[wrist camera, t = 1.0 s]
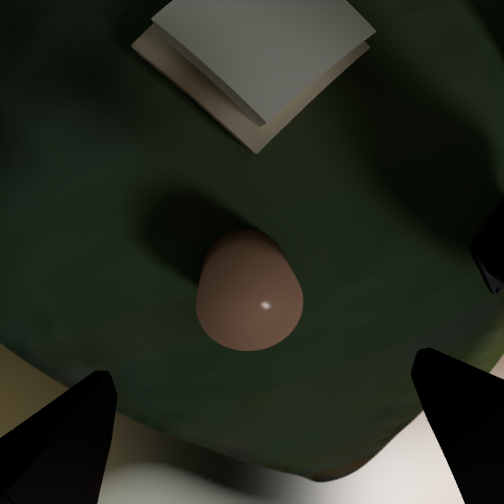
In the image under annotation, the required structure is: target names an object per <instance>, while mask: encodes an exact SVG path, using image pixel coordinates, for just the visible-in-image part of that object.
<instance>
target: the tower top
mask: <svg viewBox="0 0 504 504" xmlns="http://www.w3.org/2000/svg"><path fill="white" fill-rule="evenodd" d="M151 20H152V21H153V23H154V24H155V26H156V28H157V29H158V31H159V32H160V34H161V36H162V37H163V39H164V40H166V41H167V42H168V43H169V44H170V45H172V46H173V47H174V48H175V49H176V50H177V51H179V52H180V53H181V54H182V55H183V56H184V57H185V58H187V59H188V60H189V61H190V62H191V63H192V64H193V65H195V66H196V67H197V68H198V69H199V70H200V71H201V72H202V73H204V74H205V75H206V76H207V77H208V78H209V79H210V80H211V81H212V82H213V83H214V84H216V85H217V86H218V87H219V88H220V89H221V90H222V91H223V92H224V93H225V94H226V95H227V96H228V97H229V98H230V99H232V100H233V101H234V102H235V103H236V104H237V105H238V106H239V107H240V108H241V109H242V110H243V111H244V112H245V113H246V114H247V115H248V116H249V117H250V118H251V119H252V120H253V121H254V122H255V123H256V124H257V125H258V126H259V127H261V126H262V125H264V124H266V123H267V122H268V121H270V120H271V119H272V118H273V117H274V116H275V115H276V114H277V113H278V112H279V111H281V110H282V109H283V108H284V107H285V106H286V105H287V104H288V103H290V102H291V101H292V100H293V99H294V98H295V97H296V96H298V95H299V94H300V93H301V92H302V91H303V90H304V89H306V88H307V87H308V86H309V85H310V84H311V83H313V82H314V81H315V80H316V79H317V78H319V77H320V76H321V75H322V74H323V73H324V72H326V71H327V70H328V69H329V68H331V67H332V66H333V65H334V64H335V63H337V62H338V61H339V60H340V59H342V58H343V57H344V56H345V55H347V54H348V53H349V52H350V51H352V50H353V49H354V48H355V47H357V46H358V45H359V44H360V43H362V42H363V41H364V40H366V39H367V38H368V37H370V36H371V35H372V34H373V33H375V32H376V31H375V29H374V28H373V27H372V26H371V25H370V24H369V23H368V22H367V21H366V20H365V19H364V18H363V17H362V16H361V15H360V14H359V13H358V12H357V11H356V10H355V9H354V8H353V7H352V6H351V5H350V4H349V3H348V2H347V1H346V0H172V1H171V2H170V3H169V4H168V5H166V6H165V7H164V8H163V9H162V10H160V11H159V12H158V13H157V14H156V15H155V16H154V17H152V18H151Z"/></svg>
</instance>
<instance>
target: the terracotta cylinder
mask: <svg viewBox="0 0 504 504" xmlns="http://www.w3.org/2000/svg"><path fill="white" fill-rule="evenodd" d="M302 309H303V295H302V290H301V287H300V285H299V283H298V281H297V279H296V277H295V275H294V273H293V271H292V269H291V267H290V265H289V263H288V261H287V259H286V257H285V255H284V254H283V252H282V250H281V248H280V246H279V245H278V244H277V243H276V242H275V241H274V240H273V239H272V238H271V237H270V236H268V235H266V234H265V233H262V232H260V231H257V230H252V229H238V230H234V231H230V232H228V233H226V234H224V235H222V236H220V237H219V238H218V239H216V240H215V241H214V242H213V243H212V245H211V246H210V247H209V249H208V250H207V252H206V255H205V257H204V261H203V266H202V271H201V276H200V282H199V287H198V293H197V299H196V311H197V316H198V319H199V322H200V324H201V326H202V327H203V329H204V330H205V332H206V333H207V334H208V335H209V336H210V337H211V338H212V339H213V340H215V341H216V342H218V343H219V344H221V345H223V346H225V347H228V348H231V349H235V350H241V351H254V350H260V349H265V348H268V347H270V346H273V345H275V344H277V343H278V342H280V341H282V340H283V339H284V338H285V337H287V336H288V335H289V334H290V333H291V332H292V330H293V329H294V328H295V326H296V325H297V323H298V321H299V319H300V317H301V313H302Z"/></svg>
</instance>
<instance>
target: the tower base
mask: <svg viewBox="0 0 504 504" xmlns="http://www.w3.org/2000/svg"><path fill="white" fill-rule="evenodd" d="M131 46H132V48H133V49H134V50H135V51H136V52H137V53H138V54H139V55H140V56H141V57H142V58H144V59H145V60H146V61H147V62H148V63H150V64H151V65H152V66H153V67H155V68H156V69H157V70H158V71H160V72H161V73H162V74H163V75H164V76H166V77H167V78H168V79H169V80H170V81H172V82H173V83H174V84H175V85H176V86H177V87H179V88H180V89H181V90H182V91H183V92H184V93H186V94H187V95H188V96H189V97H190V98H191V99H193V100H194V101H195V102H196V103H197V104H198V105H199V106H201V107H202V108H203V109H204V110H205V111H206V112H207V113H209V114H210V115H211V116H212V117H213V118H214V119H215V120H216V121H218V122H219V123H220V124H221V125H222V126H223V127H224V128H225V129H226V130H227V131H229V132H230V133H231V134H232V135H233V136H234V137H235V138H236V139H237V140H238V141H239V142H240V143H242V144H243V145H244V146H245V147H246V148H247V149H248V150H249V151H250V152H251V153H252V154H257V153H258V152H259V151H260V150H261V149H262V148H263V147H264V146H265V145H266V144H267V143H268V142H269V141H270V140H271V139H272V138H273V137H274V136H275V135H276V134H277V133H278V132H279V131H280V130H281V129H282V128H284V127H285V126H286V125H287V124H288V123H289V122H290V121H291V120H292V119H293V118H294V117H295V116H296V115H297V114H298V113H299V112H300V111H301V110H302V109H303V108H304V107H305V106H306V105H307V104H308V103H310V102H311V101H312V100H313V99H314V98H315V97H316V96H317V95H318V94H319V93H320V92H321V91H322V90H323V89H325V88H326V87H327V86H328V85H329V84H330V83H331V82H332V81H333V80H334V79H335V78H337V77H338V76H339V75H340V74H341V73H342V72H343V71H344V70H345V69H347V68H348V67H349V66H350V65H351V64H352V63H353V62H354V61H356V60H357V59H358V58H359V57H360V56H361V55H362V54H363V53H365V52H366V51H367V50H368V49H369V48H370V46H369V45H368V44H367V43H366V42H365V41H363V42H362V43H360V44H359V45H358V46H357V47H355V48H354V49H353V50H352V51H350V52H349V53H348V54H347V55H345V56H344V57H343V58H342V59H340V60H339V61H338V62H337V63H335V64H334V65H333V66H332V67H331V68H329V69H328V70H327V71H326V72H324V73H323V74H322V75H321V76H320V77H319V78H317V79H316V80H315V81H314V82H313V83H311V84H310V85H309V86H308V87H307V88H306V89H304V90H303V91H302V92H301V93H300V94H299V95H298V96H296V97H295V98H294V99H293V100H292V101H291V102H290V103H288V104H287V105H286V106H285V107H284V108H283V109H282V110H281V111H279V112H278V113H277V114H276V115H275V116H274V117H273V118H272V119H271V120H270V121H268V122H267V123H266V124H264V125H262V126H261V127H259V126H258V125H257V124H256V123H255V122H254V121H253V120H252V119H251V118H250V117H249V116H248V115H247V114H246V113H245V112H244V111H243V110H242V109H241V108H240V107H239V106H238V105H237V104H236V103H235V102H234V101H233V100H232V99H230V98H229V97H228V96H227V95H226V94H225V93H224V92H223V91H222V90H221V89H220V88H219V87H218V86H217V85H216V84H214V83H213V82H212V81H211V80H210V79H209V78H208V77H207V76H206V75H205V74H204V73H202V72H201V71H200V70H199V69H198V68H197V67H196V66H195V65H193V64H192V63H191V62H190V61H189V60H188V59H187V58H185V57H184V56H183V55H182V54H181V53H180V52H179V51H177V50H176V49H175V48H174V47H173V46H172V45H170V44H169V43H168V42H167V41H166V40H164V39H163V37H162V36H161V34H160V32H159V31H158V29H157V28H156V26H155V24H154V23H153V24H152V25H151V26H150V27H149V28H148V29H147V30H146V31H145V32H144V33H143V34H142V35H141V36H140V37H139V38H138V39H137V40H136V41H135V42H134V43H133V44H132V45H131Z"/></svg>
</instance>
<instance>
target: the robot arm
mask: <svg viewBox="0 0 504 504" xmlns="http://www.w3.org/2000/svg"><path fill="white" fill-rule="evenodd" d="M476 249H477V250H476ZM471 252H472V254H473V256H474V258H475V260H476V262H477V264H478V266H479V268H480V270H481V272H482V274H483V276H484V278H485V280H486V282H487V284H488V286H489V288H490V290H491V292H492V294H494V295H498V294H499V293H500V291H501V290H502V289H503V288H504V204H503V205H502V207H501V208H500V209H499V211H498V212H497V214H496V215H495V216H494V218H493V219H492V220H491V222H490V223H489V224H488V226H487V227H486V228H485V230H484V231H483V232H482V233H481V235H480V236H479V237H478V239H477V240H476V241H475V242H474V244H473V245H472V247H471ZM411 377H412V380H413V383H414V385H415V388H416V391H417V393H418V396H419V399H420V402H421V404H422V407H423V410H424V412H425V415H426V417H427V420H428V422H429V424H430V426H431V428H432V430H433V432H434V434H435V436H436V439H437V441H438V443H439V445H440V447H441V449H442V451H443V454H444V456H445V458H446V460H447V462H448V465H449V467H450V469H451V472H452V474H453V476H454V478H455V481H456V483H457V485H458V488H459V490H460V493H461V495H462V498H463V500H464V502H465V504H504V379H501V378H499V377H496V376H494V375H492V374H490V373H487V372H485V371H483V370H480V369H478V368H476V367H473V366H471V365H469V364H467V363H464V362H462V361H460V360H457V359H455V358H453V357H450V356H448V355H446V354H444V353H441V352H439V351H437V350H434V349H432V348H425V349H420V350H419V351H418V352H417V354H416V357H415V360H414V364H413V367H412V371H411ZM116 405H117V392H116V389H115V386H114V383H113V380H112V377H111V374H110V373H109V372H108V371H99V370H97V371H94V372H93V373H91V374H90V375H88V376H87V377H86V378H84V379H83V380H81V381H80V382H79V383H77V384H76V385H74V386H73V387H72V388H70V389H69V390H67V391H66V392H65V393H63V394H62V395H60V396H59V397H58V398H56V399H55V400H53V401H52V402H51V403H49V404H48V405H46V406H45V407H44V408H42V409H41V410H39V411H38V412H37V413H35V414H34V415H32V416H31V417H29V418H28V419H27V420H25V421H24V422H22V423H21V424H20V425H18V426H17V427H16V428H14V431H13V430H11V431H10V432H8V433H7V434H5V435H4V436H3V437H1V438H0V504H97V502H98V498H99V492H100V488H101V484H102V479H103V475H104V471H105V466H106V462H107V458H108V454H109V450H110V446H111V440H112V433H113V426H114V419H115V412H116Z"/></svg>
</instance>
